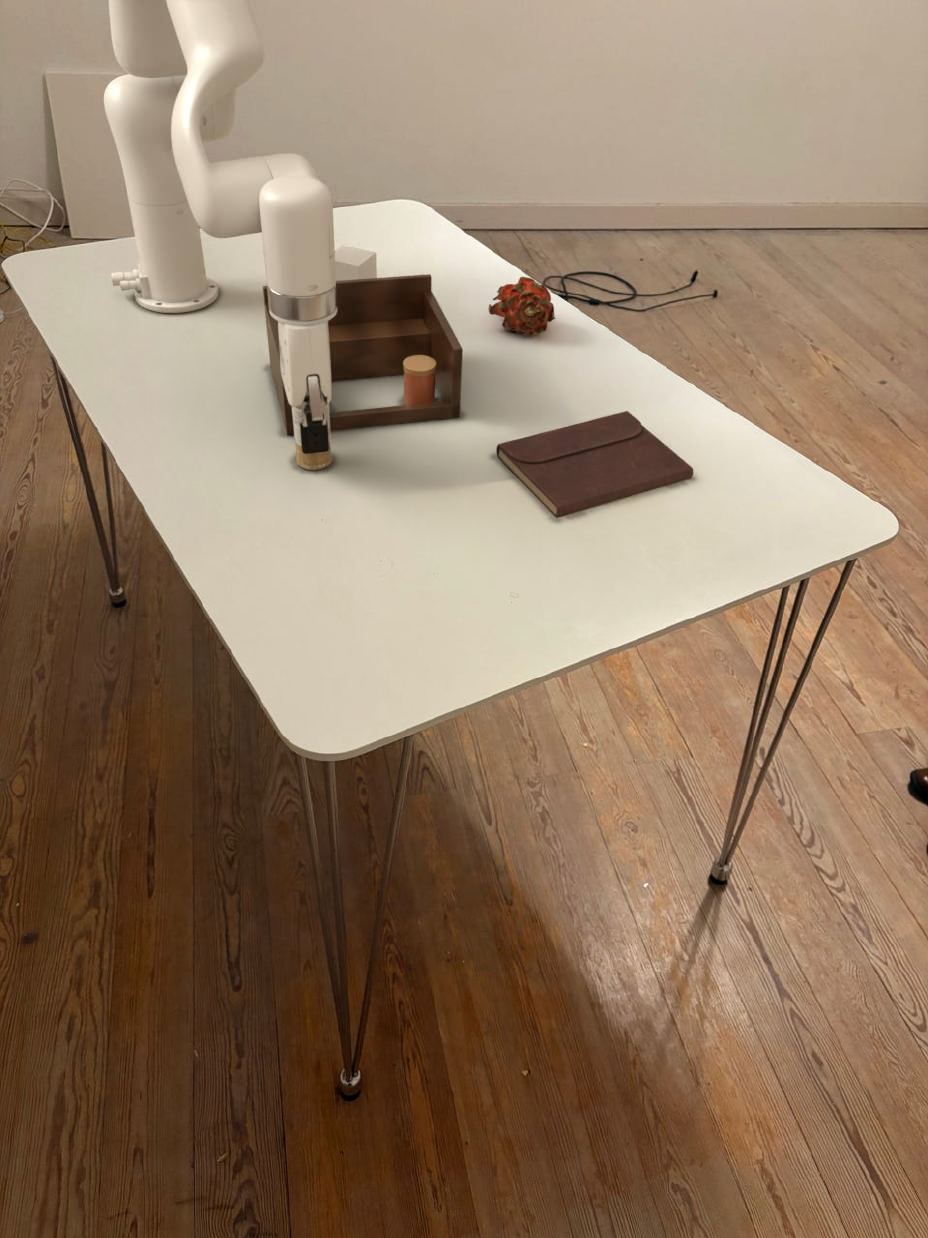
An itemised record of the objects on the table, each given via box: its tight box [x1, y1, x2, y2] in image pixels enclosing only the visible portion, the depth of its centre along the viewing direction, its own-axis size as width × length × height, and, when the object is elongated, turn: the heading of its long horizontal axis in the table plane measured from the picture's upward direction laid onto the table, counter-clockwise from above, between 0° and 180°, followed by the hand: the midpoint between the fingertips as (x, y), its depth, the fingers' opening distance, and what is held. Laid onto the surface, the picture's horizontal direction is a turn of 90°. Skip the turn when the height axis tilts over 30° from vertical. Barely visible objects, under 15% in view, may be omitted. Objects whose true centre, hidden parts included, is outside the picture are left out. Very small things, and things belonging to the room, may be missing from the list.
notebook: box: [495, 410, 694, 519], centre depth 127 cm, size 15×20×2 cm
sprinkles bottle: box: [292, 380, 333, 471], centre depth 122 cm, size 5×5×14 cm
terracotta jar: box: [403, 355, 436, 405], centre depth 136 cm, size 4×4×6 cm
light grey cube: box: [335, 244, 378, 281], centre depth 160 cm, size 6×6×6 cm
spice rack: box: [262, 273, 464, 436], centre depth 135 cm, size 23×18×12 cm
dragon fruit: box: [487, 276, 556, 337], centre depth 153 cm, size 8×8×12 cm
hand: (312, 438), depth 124 cm, fingers closed on sprinkles bottle, 4 cm apart
